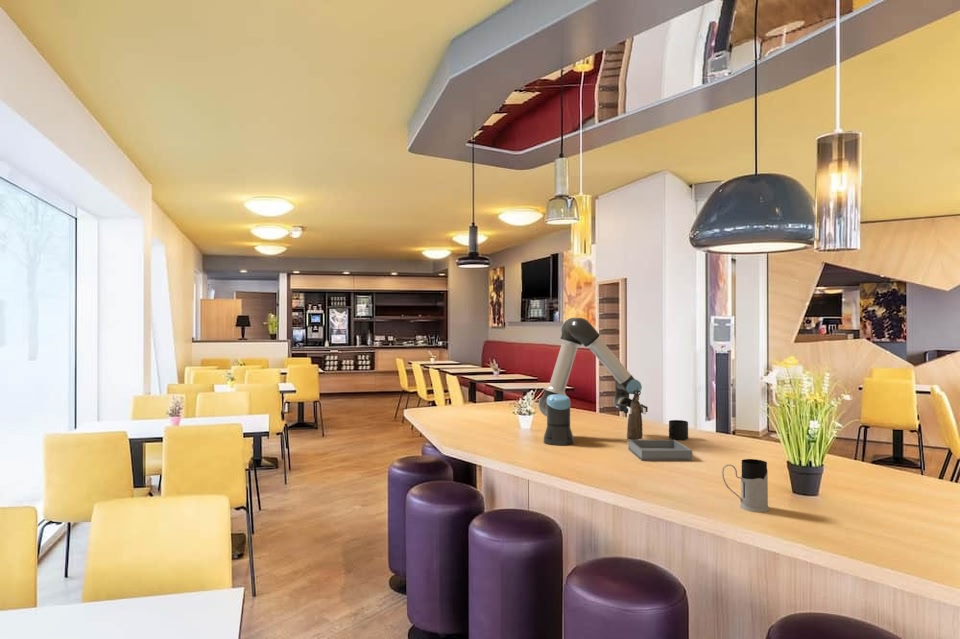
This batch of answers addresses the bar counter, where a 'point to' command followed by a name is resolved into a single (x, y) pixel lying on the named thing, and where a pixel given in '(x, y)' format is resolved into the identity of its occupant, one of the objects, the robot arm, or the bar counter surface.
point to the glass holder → (753, 485)
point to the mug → (678, 430)
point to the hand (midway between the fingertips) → (637, 411)
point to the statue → (635, 419)
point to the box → (660, 450)
